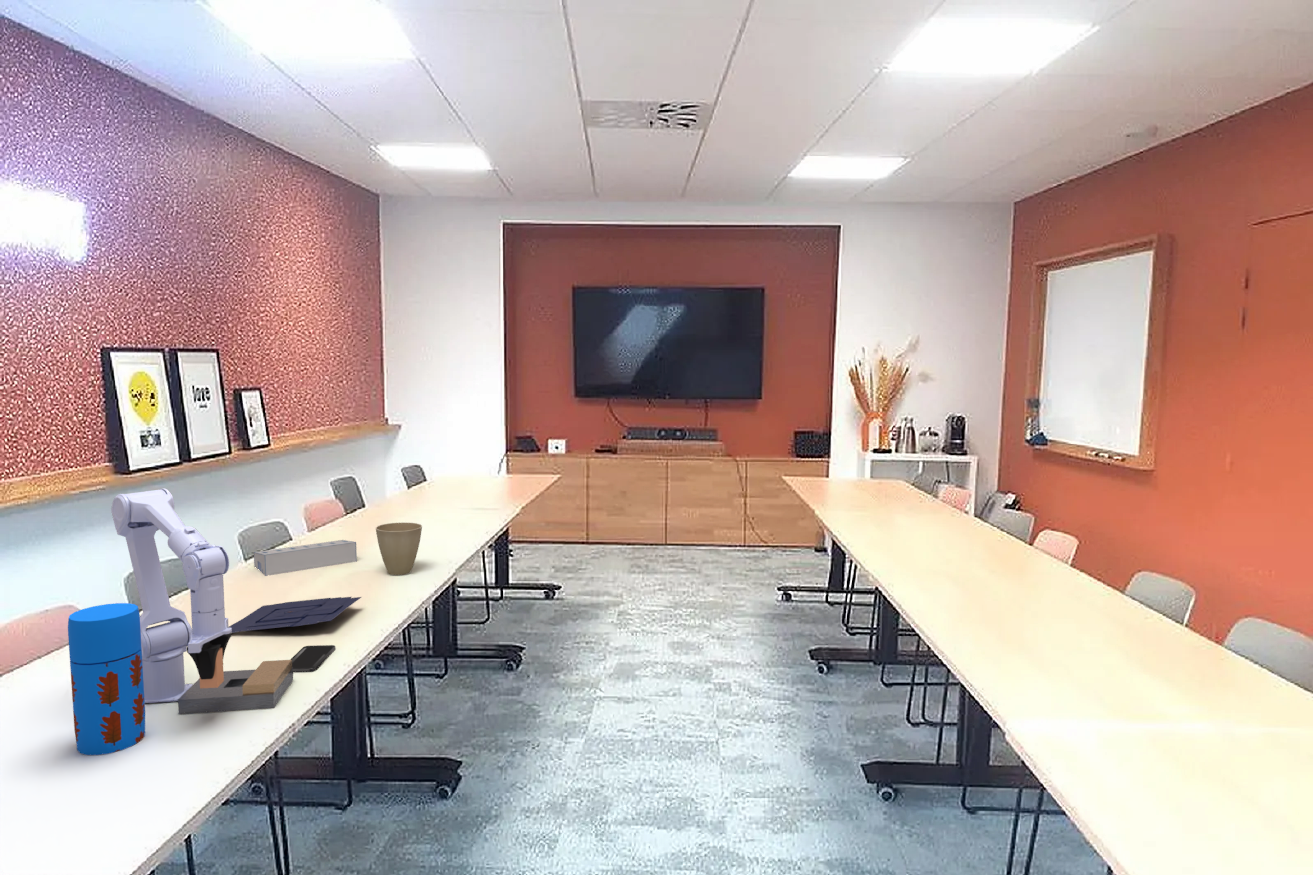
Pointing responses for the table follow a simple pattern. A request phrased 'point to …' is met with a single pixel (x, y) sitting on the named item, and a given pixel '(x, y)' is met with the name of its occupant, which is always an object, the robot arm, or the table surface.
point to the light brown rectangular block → (215, 673)
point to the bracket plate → (241, 690)
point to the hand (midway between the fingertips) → (210, 674)
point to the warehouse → (305, 557)
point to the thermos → (106, 678)
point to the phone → (311, 658)
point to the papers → (293, 614)
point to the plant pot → (399, 546)
